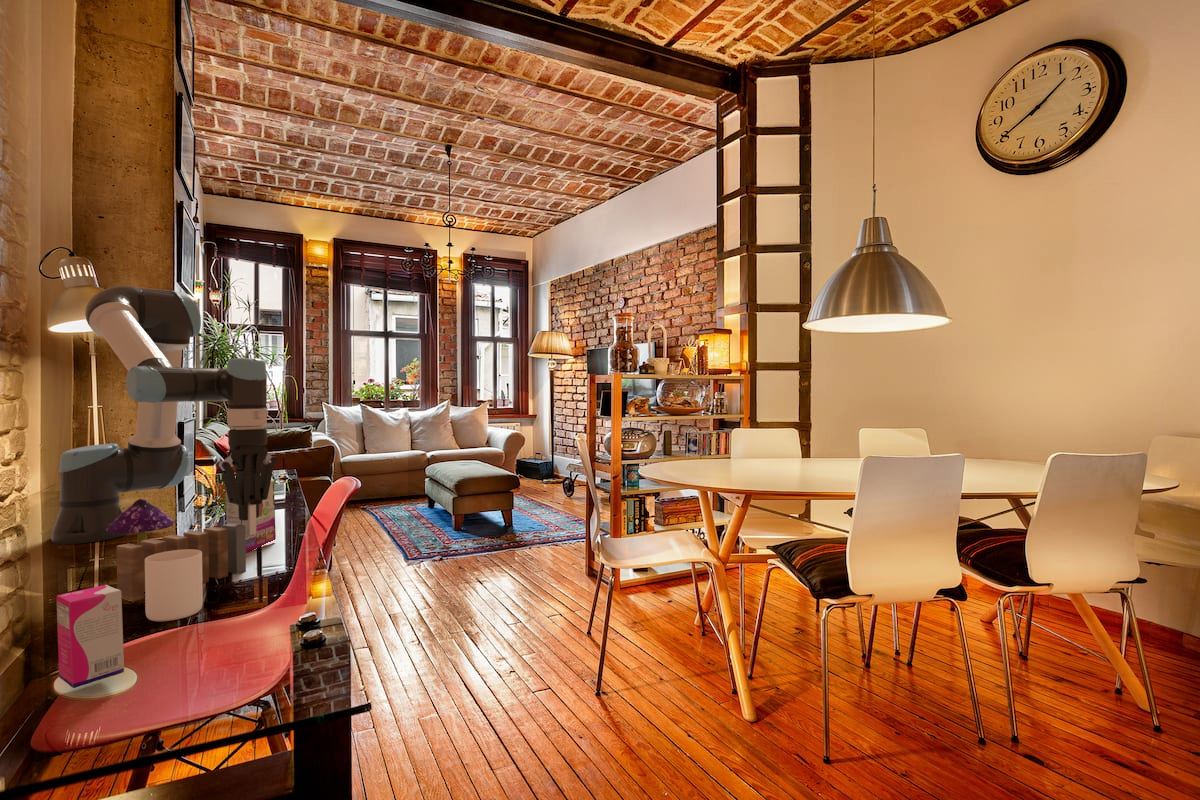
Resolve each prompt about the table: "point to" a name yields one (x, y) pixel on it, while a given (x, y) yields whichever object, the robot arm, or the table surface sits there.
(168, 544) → the walnut domino
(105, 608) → the supplement box
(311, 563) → the table surface
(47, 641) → the table surface
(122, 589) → the walnut domino
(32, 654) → the table surface
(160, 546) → the walnut domino
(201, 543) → the walnut domino
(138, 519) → the decorative mushroom
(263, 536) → the candy bar box
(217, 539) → the walnut domino
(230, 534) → the charcoal domino
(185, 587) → the white oval pot
